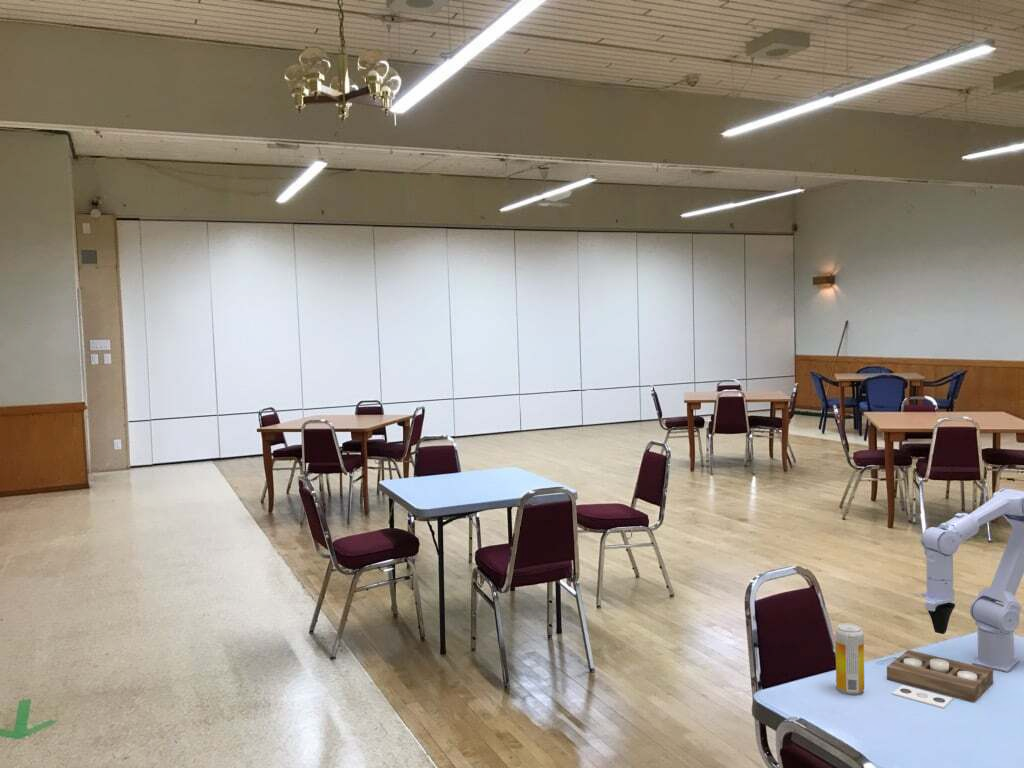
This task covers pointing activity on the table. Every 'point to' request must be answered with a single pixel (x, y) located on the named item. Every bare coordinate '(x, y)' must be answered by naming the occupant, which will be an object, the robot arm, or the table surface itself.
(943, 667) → the middle button
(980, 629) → the robot arm
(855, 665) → the beer can
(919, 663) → the left button
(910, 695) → the card
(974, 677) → the right button
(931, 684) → the button panel
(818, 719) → the table surface
